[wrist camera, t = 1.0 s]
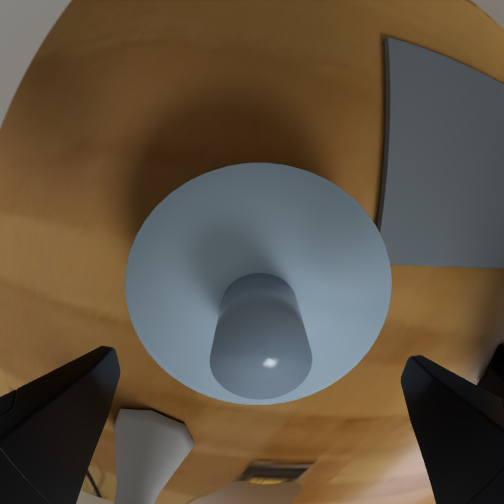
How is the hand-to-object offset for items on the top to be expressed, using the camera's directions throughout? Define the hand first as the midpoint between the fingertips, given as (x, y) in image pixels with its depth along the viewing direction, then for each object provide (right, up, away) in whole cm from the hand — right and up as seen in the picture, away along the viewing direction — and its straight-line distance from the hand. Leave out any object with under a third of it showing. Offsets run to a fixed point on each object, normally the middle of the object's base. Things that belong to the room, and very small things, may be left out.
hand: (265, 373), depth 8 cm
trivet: (+13, +9, +6) cm, 17 cm away
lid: (0, +1, +5) cm, 5 cm away
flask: (-9, -12, +13) cm, 20 cm away
